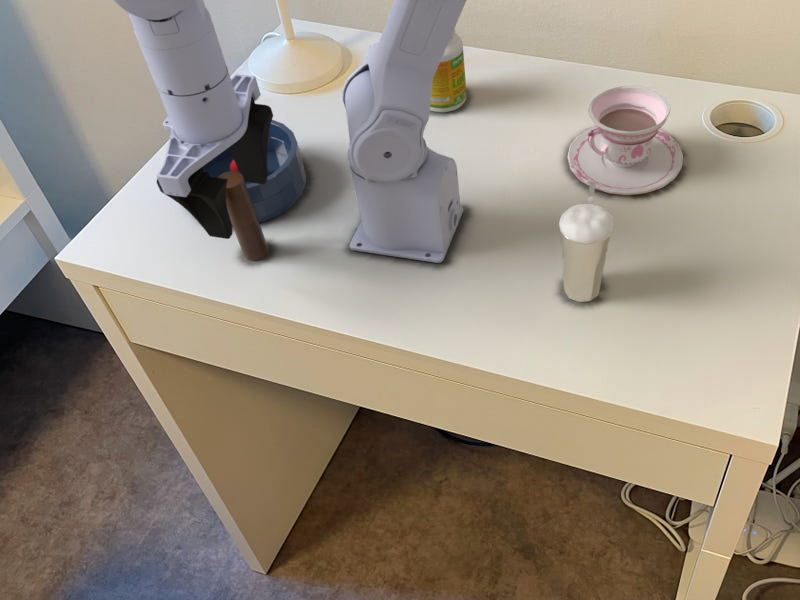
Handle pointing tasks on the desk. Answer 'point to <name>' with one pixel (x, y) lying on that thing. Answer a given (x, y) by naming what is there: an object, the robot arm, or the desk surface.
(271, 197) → the bowl
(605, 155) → the teacup
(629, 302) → the desk surface
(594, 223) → the milkshake
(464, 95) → the supplement bottle
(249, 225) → the stirring stick
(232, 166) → the berry
